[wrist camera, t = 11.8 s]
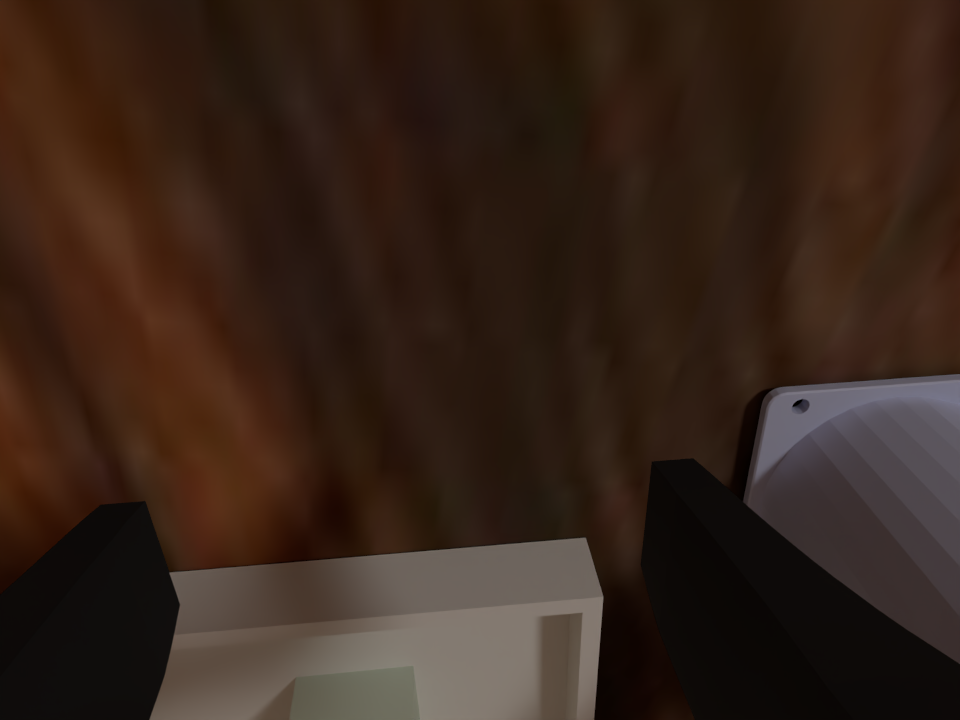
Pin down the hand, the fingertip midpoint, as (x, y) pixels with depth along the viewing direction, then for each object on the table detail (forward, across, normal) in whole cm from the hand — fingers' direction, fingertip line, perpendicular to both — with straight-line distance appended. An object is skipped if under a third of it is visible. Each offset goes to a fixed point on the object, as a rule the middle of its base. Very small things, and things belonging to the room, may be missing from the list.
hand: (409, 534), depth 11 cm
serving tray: (+9, +3, +16) cm, 19 cm away
